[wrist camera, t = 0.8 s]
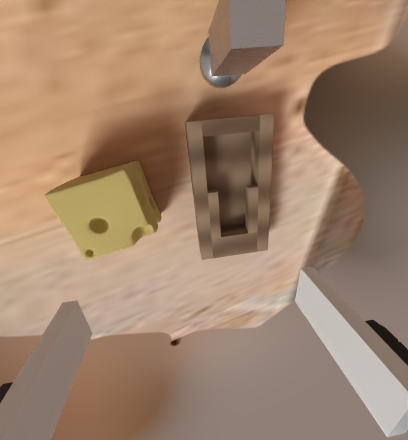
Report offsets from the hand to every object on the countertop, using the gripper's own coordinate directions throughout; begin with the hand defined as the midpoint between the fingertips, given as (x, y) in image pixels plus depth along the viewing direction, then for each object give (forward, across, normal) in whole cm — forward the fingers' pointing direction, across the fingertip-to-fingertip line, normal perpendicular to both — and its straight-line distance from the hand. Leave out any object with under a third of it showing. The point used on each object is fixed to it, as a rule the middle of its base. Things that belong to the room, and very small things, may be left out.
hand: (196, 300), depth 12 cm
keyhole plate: (+25, +8, -1) cm, 26 cm away
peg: (+25, +7, +17) cm, 31 cm away
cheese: (+25, -10, -1) cm, 27 cm away
